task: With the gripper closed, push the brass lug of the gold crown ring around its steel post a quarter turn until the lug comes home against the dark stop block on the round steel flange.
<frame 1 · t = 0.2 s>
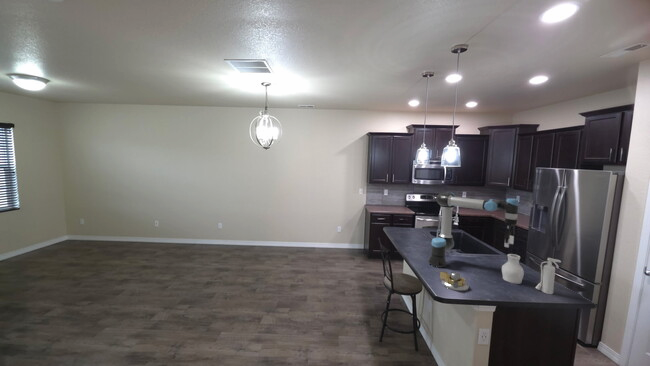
hand: (508, 245, 200), 28 cm above the countertop, fingers open, 13 cm apart
vase: (511, 280, 201), on the countertop
gold crown ring: (452, 278, 191), point 5 cm above the countertop, hinge at 0.0°
fire extinguisher: (545, 292, 184), on the countertop
flange: (454, 285, 190), on the countertop
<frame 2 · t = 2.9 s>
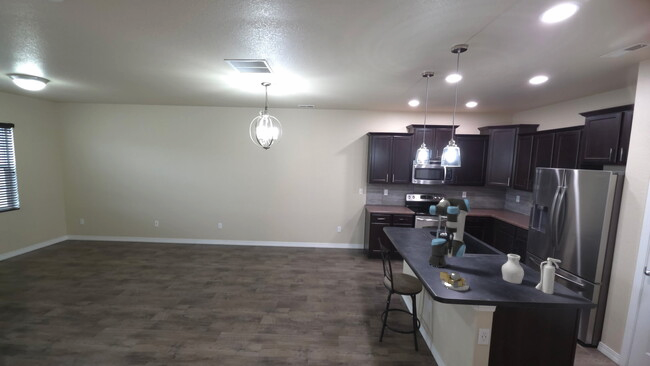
hand: (449, 256, 198), 19 cm above the countertop, fingers open, 5 cm apart
nothing on the countertop moved.
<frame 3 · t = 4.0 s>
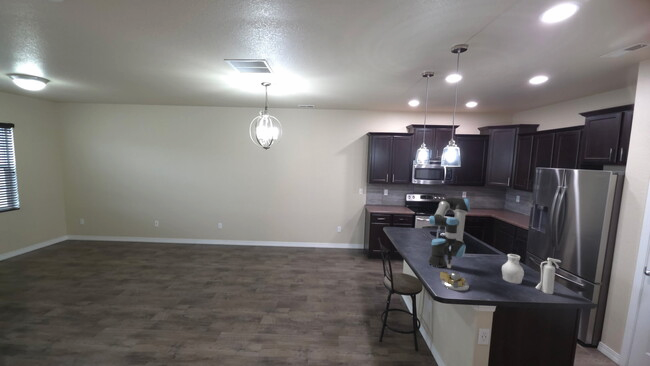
hand: (449, 267, 198), 10 cm above the countertop, fingers closed
nothing on the countertop moved.
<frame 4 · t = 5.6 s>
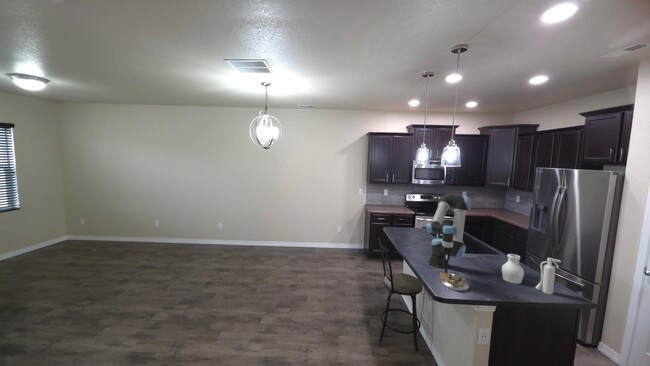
hand: (445, 276, 197), 4 cm above the countertop, fingers closed
gold crown ring: (452, 278, 191), point 5 cm above the countertop, hinge at 4.9°, touching gripper
everything else where it was.
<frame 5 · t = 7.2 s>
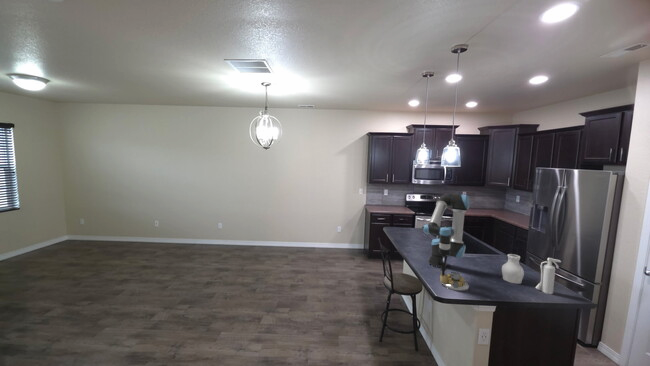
hand: (443, 278, 193), 3 cm above the countertop, fingers closed
gold crown ring: (452, 279, 189), point 5 cm above the countertop, hinge at 46.7°, touching gripper
everything else where it was.
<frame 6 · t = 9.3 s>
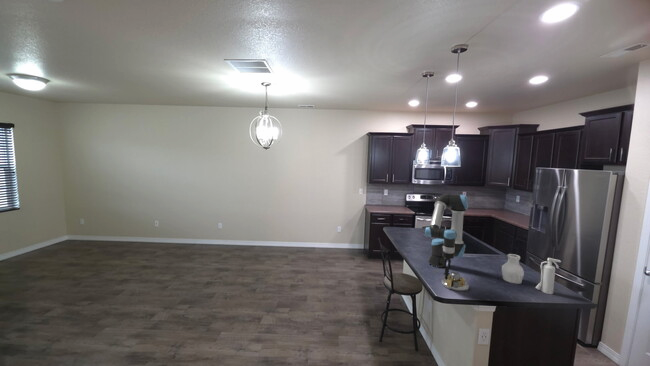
hand: (445, 282, 187), 3 cm above the countertop, fingers closed
gold crown ring: (454, 279, 188), point 5 cm above the countertop, hinge at 89.7°, touching flange, gripper
everything else where it was.
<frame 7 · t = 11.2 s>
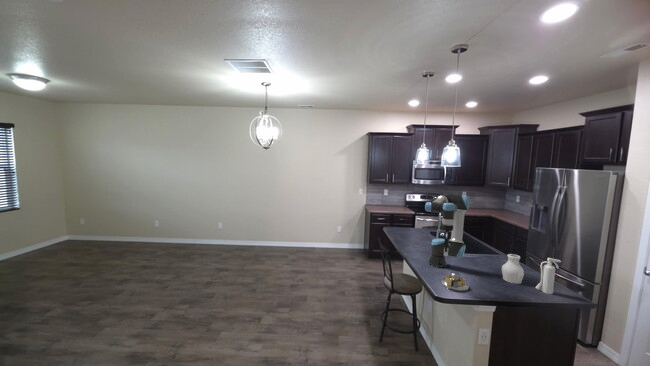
hand: (445, 255, 187), 23 cm above the countertop, fingers closed
gold crown ring: (454, 279, 188), point 5 cm above the countertop, hinge at 89.7°, touching flange
everything else where it was.
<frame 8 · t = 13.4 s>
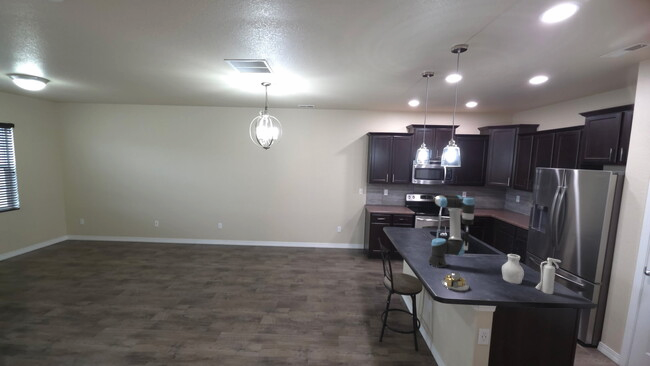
hand: (465, 249, 191), 26 cm above the countertop, fingers closed
nothing on the countertop moved.
at the end: gold crown ring at +90° (first picture: +0°) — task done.
